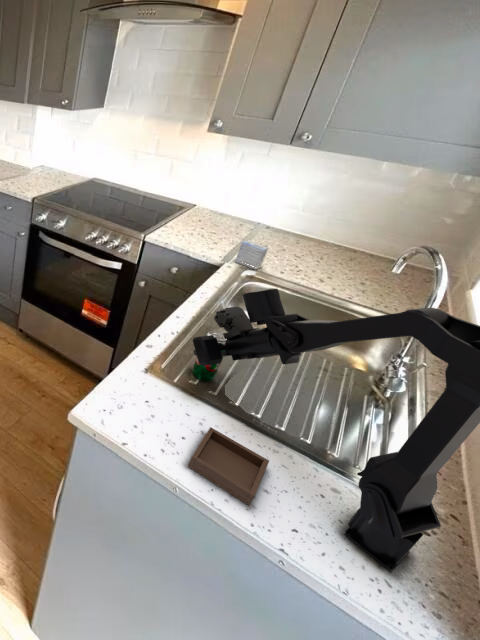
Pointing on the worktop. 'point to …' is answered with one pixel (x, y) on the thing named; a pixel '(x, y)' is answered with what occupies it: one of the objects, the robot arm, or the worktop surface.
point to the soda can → (208, 371)
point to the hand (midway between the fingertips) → (206, 351)
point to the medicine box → (251, 254)
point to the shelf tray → (229, 465)
